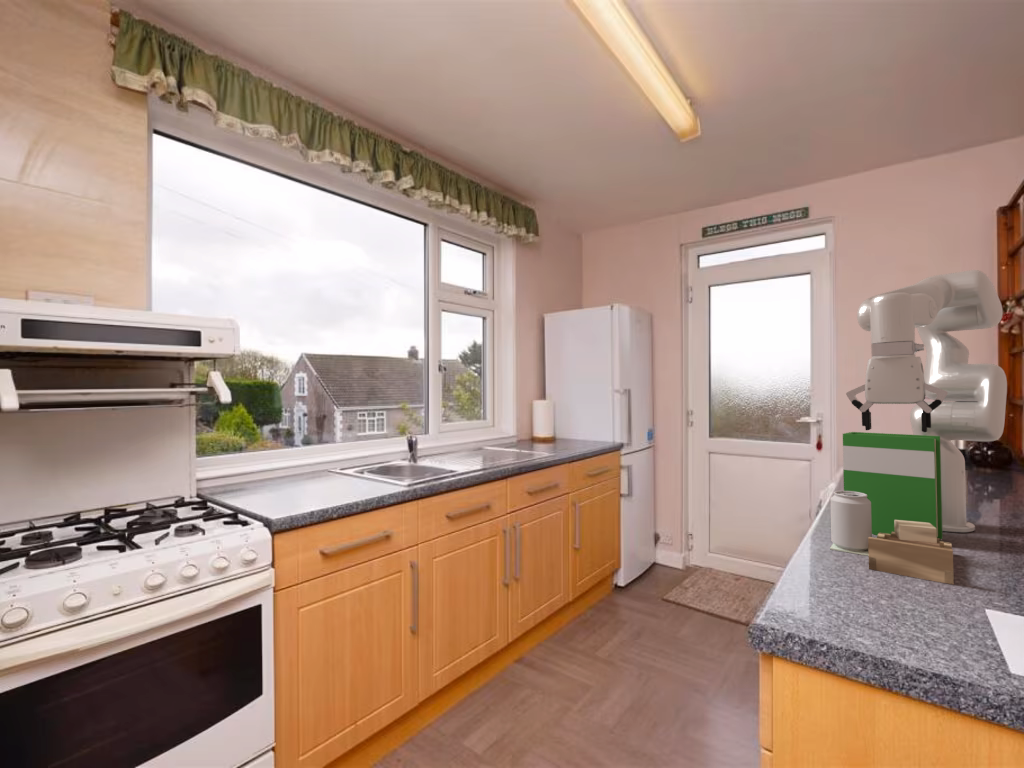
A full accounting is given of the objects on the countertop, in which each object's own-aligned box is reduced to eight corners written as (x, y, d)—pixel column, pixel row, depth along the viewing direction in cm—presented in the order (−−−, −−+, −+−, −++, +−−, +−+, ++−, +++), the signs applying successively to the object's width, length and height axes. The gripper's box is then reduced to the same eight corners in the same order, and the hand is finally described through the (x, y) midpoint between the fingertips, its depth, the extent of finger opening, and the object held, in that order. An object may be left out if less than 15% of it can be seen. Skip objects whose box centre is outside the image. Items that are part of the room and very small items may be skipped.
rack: (879, 542, 113) (878, 516, 113) (951, 554, 105) (951, 525, 105) (868, 569, 97) (868, 538, 97) (953, 584, 89) (952, 551, 89)
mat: (835, 541, 114) (835, 540, 114) (872, 547, 110) (872, 546, 110) (829, 549, 109) (829, 547, 109) (868, 556, 104) (868, 554, 104)
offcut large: (892, 549, 109) (891, 531, 109) (940, 557, 104) (939, 538, 104) (889, 556, 104) (889, 537, 105) (939, 565, 99) (939, 545, 99)
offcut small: (894, 533, 108) (894, 519, 108) (929, 537, 105) (929, 522, 105) (899, 539, 103) (899, 525, 103) (936, 543, 100) (936, 528, 101)
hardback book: (942, 539, 115) (940, 436, 116) (936, 545, 110) (933, 438, 111) (853, 524, 129) (851, 431, 129) (844, 529, 124) (842, 433, 124)
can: (874, 546, 109) (873, 492, 110) (869, 555, 104) (868, 497, 104) (834, 539, 115) (833, 487, 115) (827, 547, 109) (826, 493, 109)
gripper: (946, 348, 103) (949, 430, 104) (848, 354, 115) (850, 427, 115) (945, 348, 98) (948, 434, 98) (842, 353, 110) (844, 430, 110)
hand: (895, 430), depth 107 cm, fingers open, 9 cm apart
